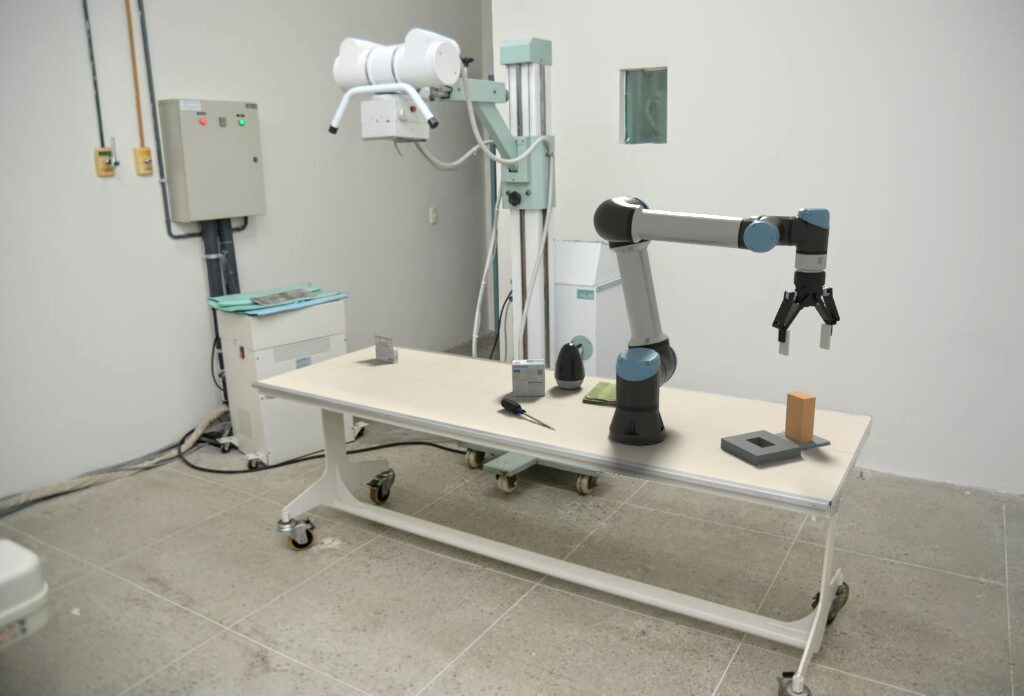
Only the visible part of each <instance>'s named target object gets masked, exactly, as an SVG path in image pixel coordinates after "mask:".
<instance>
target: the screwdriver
mask: <svg viewBox="0 0 1024 696" xmlns="http://www.w3.org/2000/svg"><path fill="white" fill-rule="evenodd" d="M500 406H501V407H502V408H503V409H504V410H506V411H508V412H509V413H510V414H512V415H524V416H526V417H528V418H529V419H532V420H533V421H535V422H537V423H538V424H541V425H543V426H544V427H546V426H547V427H546V428H548V427H549V428H548V429H550V428H552V429H555V428H554V427H552V426H551V425H549V424H547V423H545V422H543V421H542V420H540V419H538V418H536V417H534V416H533V415H531V414H529V413H527V411H526V409H523V408H522V405H521V404H520V402H517V401H515V400H513V399H510V398H506V397H504V398H502V399H501V401H500ZM552 429H551V430H552Z"/></svg>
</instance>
